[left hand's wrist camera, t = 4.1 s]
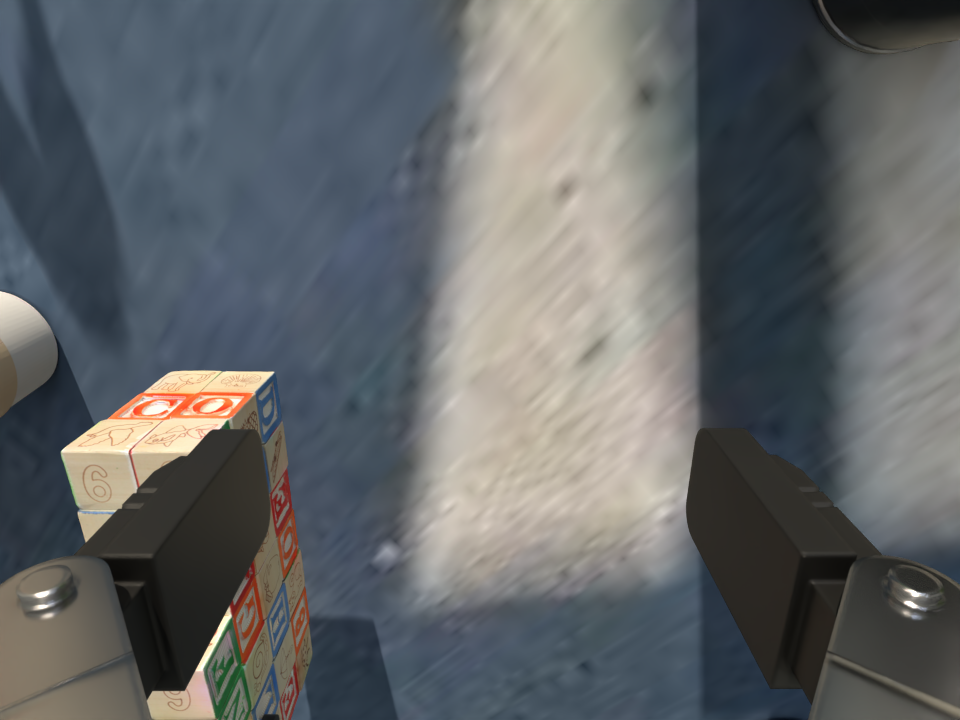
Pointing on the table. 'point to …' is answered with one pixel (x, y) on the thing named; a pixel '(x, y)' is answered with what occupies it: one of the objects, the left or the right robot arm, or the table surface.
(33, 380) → the coffee cup
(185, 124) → the table surface
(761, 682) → the table surface
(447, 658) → the table surface
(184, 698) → the stack of blocks
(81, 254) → the table surface
